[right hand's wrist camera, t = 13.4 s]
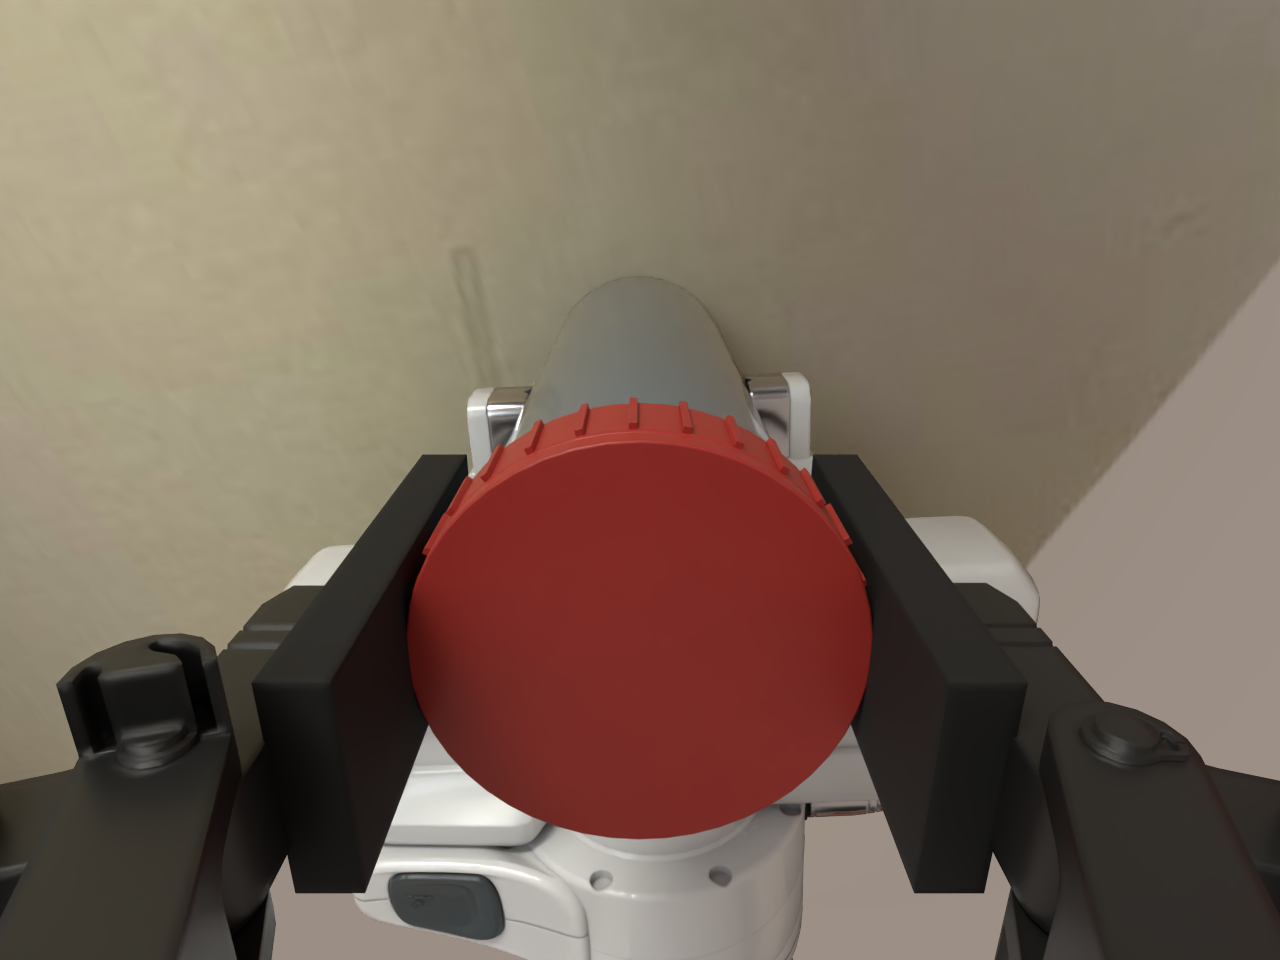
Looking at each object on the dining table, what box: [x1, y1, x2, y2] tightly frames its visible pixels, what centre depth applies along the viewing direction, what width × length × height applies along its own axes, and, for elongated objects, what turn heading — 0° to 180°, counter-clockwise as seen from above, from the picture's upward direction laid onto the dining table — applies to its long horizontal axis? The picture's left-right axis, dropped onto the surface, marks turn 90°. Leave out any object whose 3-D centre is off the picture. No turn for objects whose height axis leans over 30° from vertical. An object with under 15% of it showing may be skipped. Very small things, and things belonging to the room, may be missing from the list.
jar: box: [504, 277, 770, 448], centre depth 18 cm, size 6×6×16 cm
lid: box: [406, 398, 873, 840], centre depth 11 cm, size 6×6×2 cm
